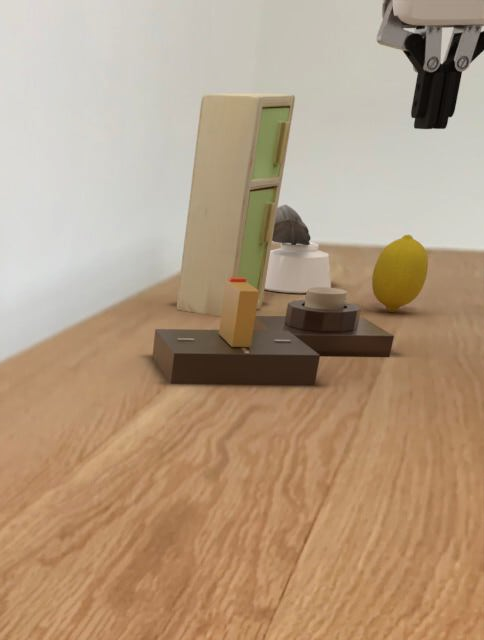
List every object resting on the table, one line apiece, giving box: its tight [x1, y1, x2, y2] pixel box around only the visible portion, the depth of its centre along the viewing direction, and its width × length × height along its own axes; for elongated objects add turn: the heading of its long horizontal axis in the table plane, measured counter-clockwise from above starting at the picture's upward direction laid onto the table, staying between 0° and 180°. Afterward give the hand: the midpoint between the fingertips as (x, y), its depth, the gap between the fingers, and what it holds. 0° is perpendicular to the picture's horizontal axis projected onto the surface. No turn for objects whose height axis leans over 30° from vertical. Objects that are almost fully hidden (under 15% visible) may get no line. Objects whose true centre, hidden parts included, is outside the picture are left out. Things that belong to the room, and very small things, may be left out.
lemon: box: [371, 234, 429, 313], centre depth 122 cm, size 6×6×8 cm
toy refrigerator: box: [176, 92, 296, 318], centre depth 119 cm, size 8×7×21 cm
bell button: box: [304, 287, 348, 310], centre depth 105 cm, size 4×4×2 cm
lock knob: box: [218, 277, 259, 348], centre depth 94 cm, size 6×2×5 cm, turn 179°
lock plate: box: [151, 328, 321, 387], centre depth 96 cm, size 12×10×3 cm
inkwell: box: [264, 204, 332, 294], centre depth 132 cm, size 9×18×10 cm, turn 150°
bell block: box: [253, 298, 395, 358], centre depth 106 cm, size 11×9×4 cm
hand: (429, 127), depth 92 cm, fingers closed
